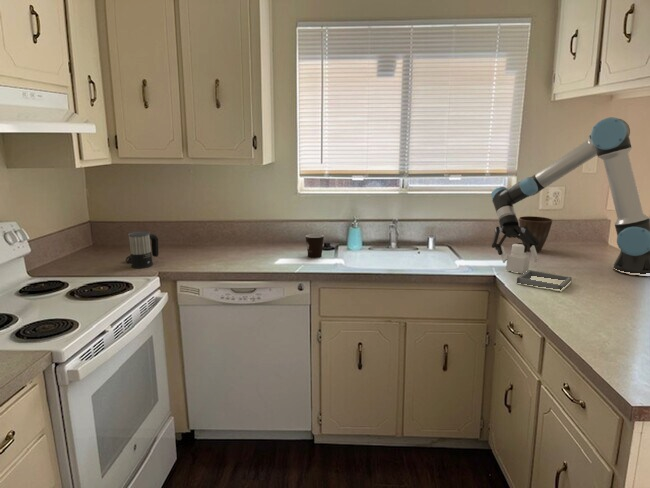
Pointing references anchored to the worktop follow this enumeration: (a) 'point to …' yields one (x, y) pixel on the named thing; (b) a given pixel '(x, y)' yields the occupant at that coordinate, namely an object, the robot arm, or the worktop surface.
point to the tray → (526, 280)
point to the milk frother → (142, 249)
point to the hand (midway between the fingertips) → (520, 260)
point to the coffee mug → (314, 245)
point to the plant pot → (536, 228)
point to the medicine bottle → (518, 258)
